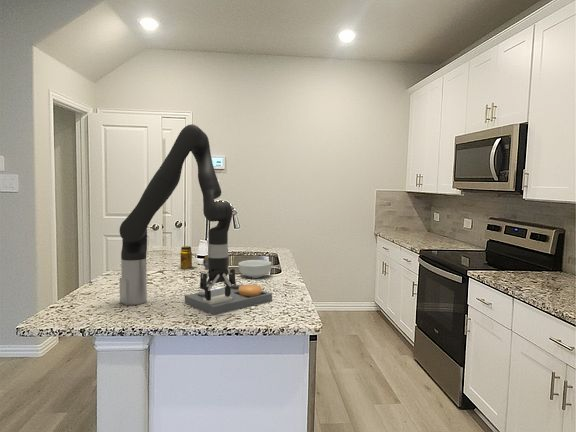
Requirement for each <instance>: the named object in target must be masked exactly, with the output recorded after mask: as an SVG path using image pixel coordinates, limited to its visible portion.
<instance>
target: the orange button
mask: <svg viewBox="0 0 576 432" xmlns="http://www.w3.org/2000/svg"><path fill="white" fill-rule="evenodd" d="M262 288H263V287H262V286H261V285H258V284H242V286H240V287H239V295H242V296H258V295H261V294H262V291H263V289H262Z"/></svg>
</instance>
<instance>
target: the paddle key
mask: <svg viewBox="0 0 576 432" xmlns="http://www.w3.org/2000/svg"><path fill="white" fill-rule="evenodd" d="M229 300H233V297H230V296H225V294H224V295H219V296H214V297H211V300H209V301H208V300H206V299H203V302H205V303H208V304H216V303H220V302H225V301H229Z"/></svg>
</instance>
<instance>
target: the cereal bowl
mask: <svg viewBox="0 0 576 432" xmlns="http://www.w3.org/2000/svg"><path fill="white" fill-rule="evenodd" d="M272 267H273V266H272V262H271V261H269V260H264V259H250V260H249V259H248V260H242V261H240V262H238V270H239V272H240V274H242V275H244V276H247V277H248V278H250V277H252V278H251V279H259V277H260V278H263V277H264V276H265V275H267V274H269V273H270V272H271V270H272ZM262 276H263V277H262Z"/></svg>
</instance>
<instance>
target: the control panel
mask: <svg viewBox="0 0 576 432" xmlns="http://www.w3.org/2000/svg"><path fill="white" fill-rule="evenodd" d="M242 285H243V284H236V285H234V284H233V285H231V294H230V297H233V300H229V301H225V302H220V303H216V304H208V303H205V302H203V299H205V296H199V292H195V293H189V294H185V295H184V304H186V305H188V306H191V307H194V308H196V309H198V310H200V311H202V310H203V311H202V312H205V313H207V312H208V314H209V313H210V314H209V315H213V316H215V315H220V314H224V313H227V312H232V311H235V310H236V311H237V310H239V309H240V310H241V309H245V308H248V307H252V306H256V305H260V304H265V303H269V302H273V293H271V292H268V291H265V290H262V294H261V295H258V296H242V295H239V287H240V286H242ZM210 291H211V297H214V296H219V295H224V294H225V287H222V288H216V289H211V290H210Z"/></svg>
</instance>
